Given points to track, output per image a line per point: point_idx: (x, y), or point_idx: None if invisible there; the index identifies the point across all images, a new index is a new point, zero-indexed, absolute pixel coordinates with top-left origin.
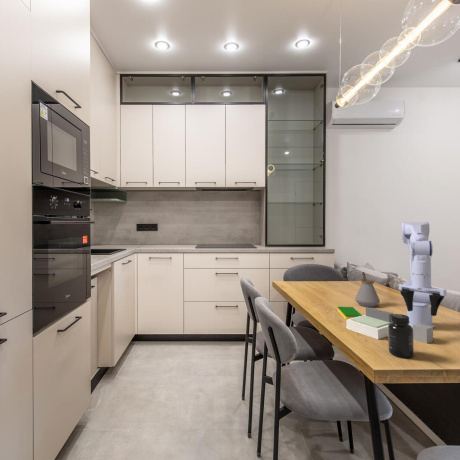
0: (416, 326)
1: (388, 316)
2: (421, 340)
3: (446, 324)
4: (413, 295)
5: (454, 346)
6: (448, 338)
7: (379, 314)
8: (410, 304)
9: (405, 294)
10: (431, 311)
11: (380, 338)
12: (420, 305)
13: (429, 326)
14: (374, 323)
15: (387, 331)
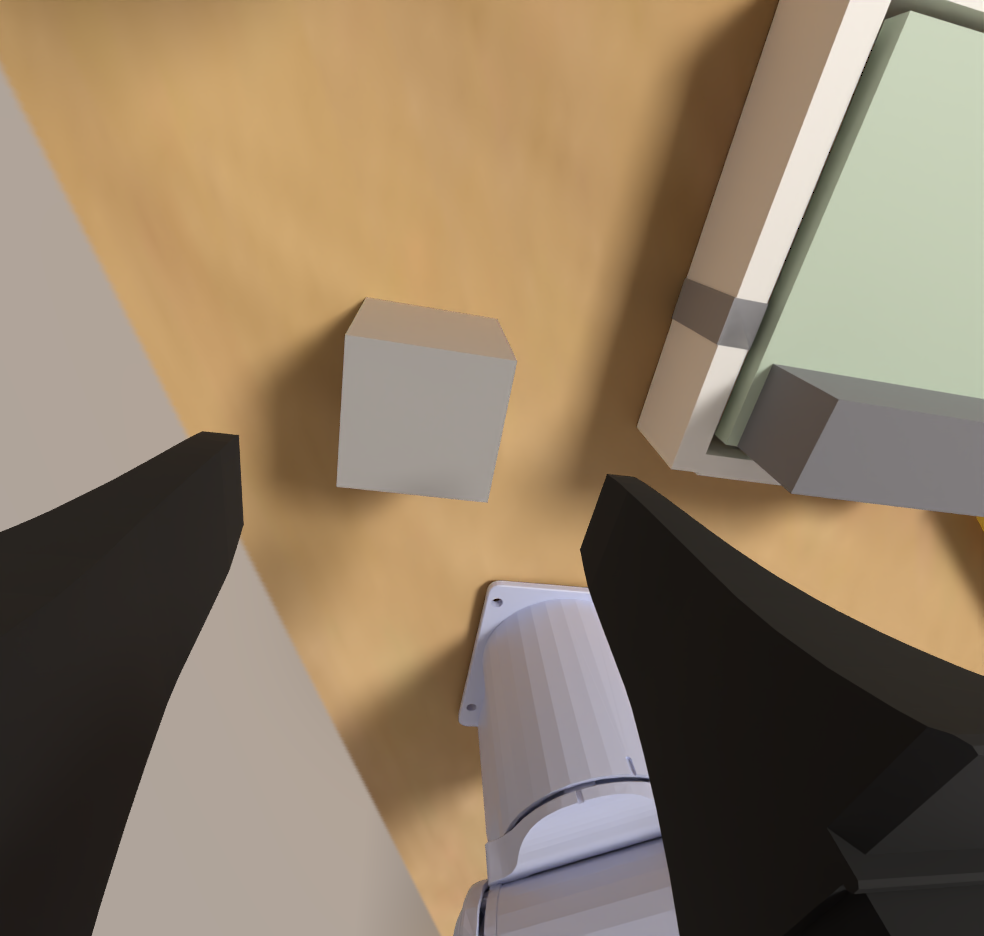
0: (470, 355)
1: (826, 387)
2: (414, 308)
3: (423, 797)
4: (665, 849)
5: (186, 418)
6: (303, 566)
7: (931, 405)
8: (638, 588)
9: (893, 689)
10: (194, 461)
11: (768, 34)
12: (560, 811)
13: (367, 471)
14: (941, 158)
15: (738, 205)
